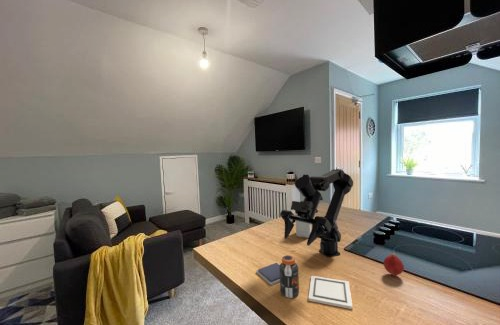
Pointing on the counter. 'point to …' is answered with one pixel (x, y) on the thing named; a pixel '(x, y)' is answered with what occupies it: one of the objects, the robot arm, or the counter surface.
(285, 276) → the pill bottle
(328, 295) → the board
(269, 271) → the ink pad
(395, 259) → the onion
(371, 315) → the counter surface
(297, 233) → the supplement box
